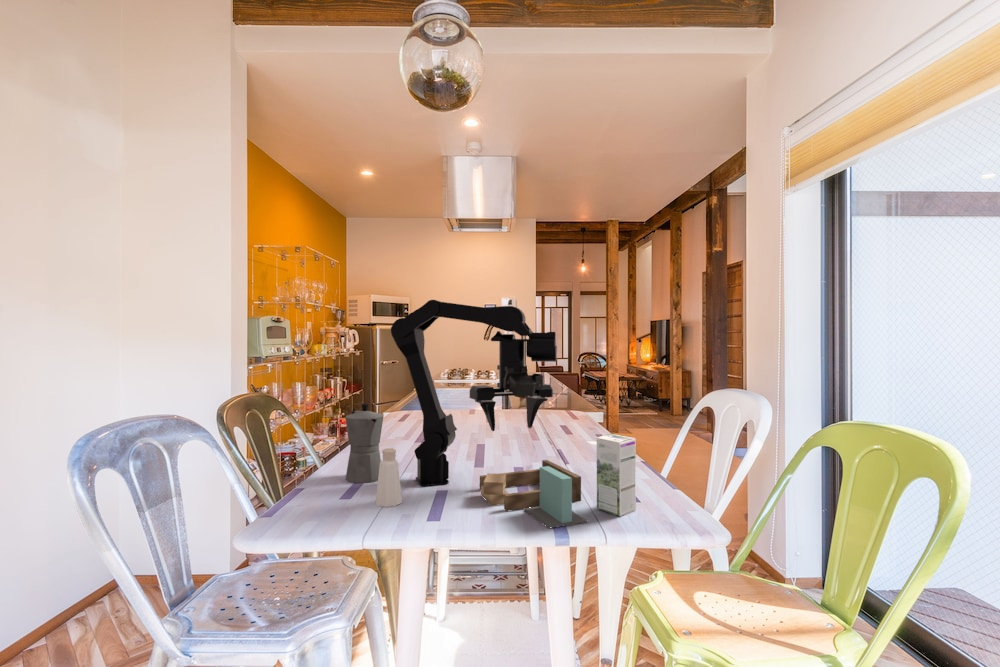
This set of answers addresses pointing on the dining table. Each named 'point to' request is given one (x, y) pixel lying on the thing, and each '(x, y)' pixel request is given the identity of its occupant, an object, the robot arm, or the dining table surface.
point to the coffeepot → (364, 445)
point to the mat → (549, 519)
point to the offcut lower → (493, 497)
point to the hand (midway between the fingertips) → (511, 429)
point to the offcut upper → (495, 484)
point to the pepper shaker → (388, 480)
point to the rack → (533, 477)
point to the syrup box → (616, 474)
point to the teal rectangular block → (556, 494)
